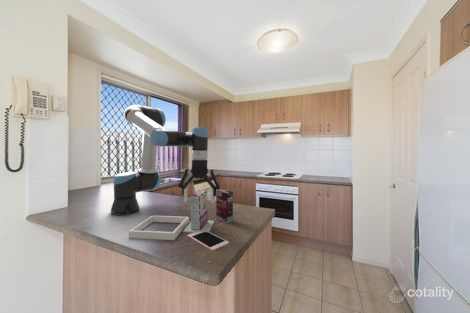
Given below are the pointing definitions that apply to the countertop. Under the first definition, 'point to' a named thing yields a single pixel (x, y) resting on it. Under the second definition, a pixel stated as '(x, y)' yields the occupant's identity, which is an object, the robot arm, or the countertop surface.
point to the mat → (205, 228)
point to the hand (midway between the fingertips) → (199, 202)
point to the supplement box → (224, 206)
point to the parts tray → (140, 234)
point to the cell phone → (208, 240)
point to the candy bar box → (198, 209)
